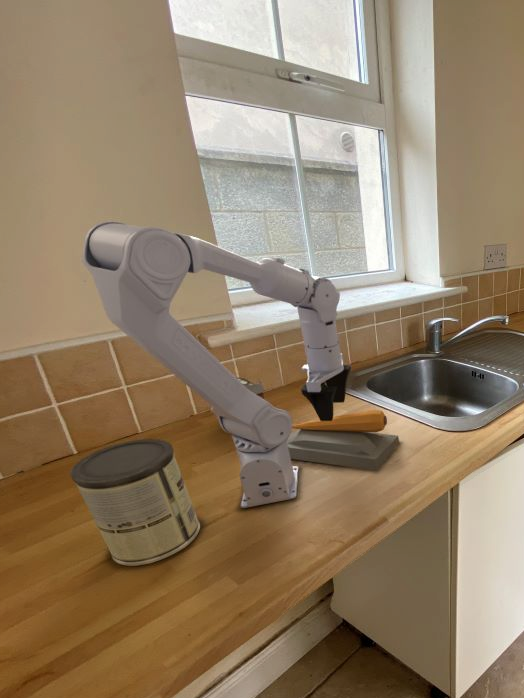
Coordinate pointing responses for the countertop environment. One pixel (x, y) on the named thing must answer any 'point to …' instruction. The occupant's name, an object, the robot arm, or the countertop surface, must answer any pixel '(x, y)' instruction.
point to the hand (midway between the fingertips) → (332, 410)
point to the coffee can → (137, 500)
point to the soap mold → (342, 447)
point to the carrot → (349, 422)
